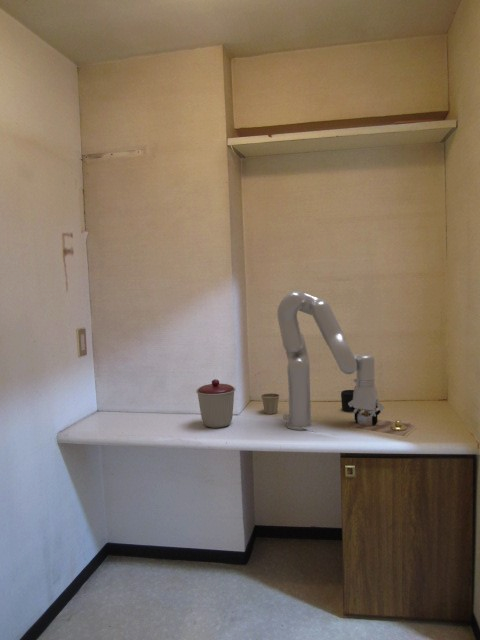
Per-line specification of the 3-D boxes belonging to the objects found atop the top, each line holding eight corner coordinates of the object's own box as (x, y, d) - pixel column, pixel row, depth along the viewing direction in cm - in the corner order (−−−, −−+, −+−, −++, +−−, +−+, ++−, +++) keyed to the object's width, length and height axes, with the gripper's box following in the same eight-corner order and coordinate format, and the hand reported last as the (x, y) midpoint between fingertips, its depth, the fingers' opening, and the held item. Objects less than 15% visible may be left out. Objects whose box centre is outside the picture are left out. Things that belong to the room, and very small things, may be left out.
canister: (242, 420, 230) (240, 376, 228) (229, 431, 213) (227, 384, 211) (206, 418, 236) (204, 375, 234) (191, 429, 219) (189, 383, 217)
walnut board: (348, 429, 209) (348, 426, 209) (363, 420, 222) (363, 417, 222) (403, 438, 195) (403, 435, 195) (416, 428, 207) (416, 425, 207)
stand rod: (363, 423, 212) (363, 411, 212) (365, 422, 214) (365, 410, 214) (367, 424, 211) (367, 412, 211) (369, 423, 213) (369, 411, 212)
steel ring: (355, 424, 212) (354, 415, 212) (361, 420, 218) (361, 411, 217) (370, 426, 208) (370, 417, 207) (376, 422, 213) (376, 413, 213)
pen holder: (337, 412, 236) (337, 392, 235) (349, 408, 242) (348, 388, 241) (353, 416, 229) (353, 395, 228) (365, 412, 235) (364, 391, 234)
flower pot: (261, 410, 246) (260, 393, 245) (279, 409, 246) (279, 392, 245) (261, 415, 237) (260, 397, 236) (280, 414, 236) (280, 397, 236)
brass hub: (387, 429, 203) (387, 421, 203) (393, 425, 209) (393, 417, 208) (403, 431, 199) (403, 423, 199) (409, 427, 205) (408, 419, 204)
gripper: (343, 382, 214) (343, 422, 215) (381, 386, 203) (382, 428, 204) (350, 379, 219) (351, 418, 221) (388, 383, 209) (388, 424, 210)
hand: (365, 422), depth 213 cm, fingers closed on steel ring, 7 cm apart
